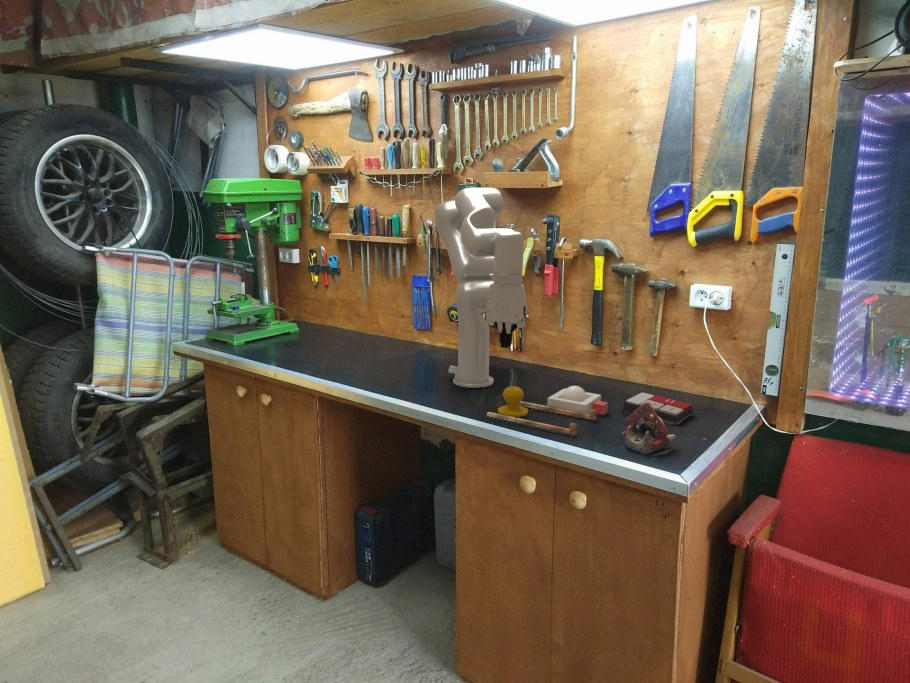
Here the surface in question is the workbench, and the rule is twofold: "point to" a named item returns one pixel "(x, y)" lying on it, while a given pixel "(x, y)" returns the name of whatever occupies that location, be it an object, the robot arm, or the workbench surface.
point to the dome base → (578, 403)
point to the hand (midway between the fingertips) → (505, 346)
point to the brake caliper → (646, 430)
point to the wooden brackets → (542, 425)
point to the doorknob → (513, 402)
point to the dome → (574, 394)
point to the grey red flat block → (660, 406)
